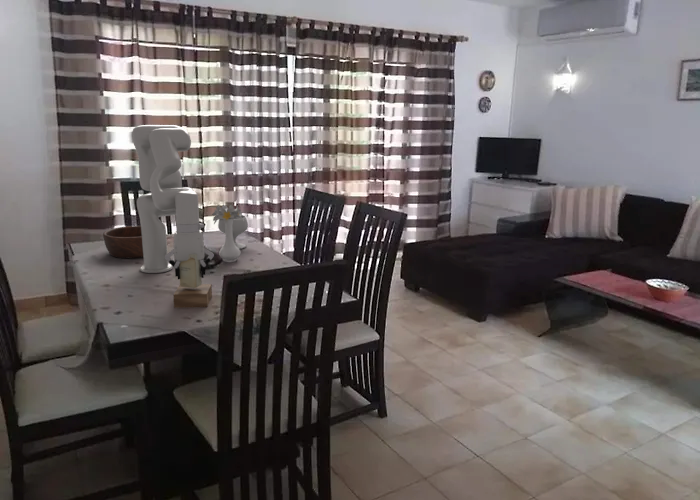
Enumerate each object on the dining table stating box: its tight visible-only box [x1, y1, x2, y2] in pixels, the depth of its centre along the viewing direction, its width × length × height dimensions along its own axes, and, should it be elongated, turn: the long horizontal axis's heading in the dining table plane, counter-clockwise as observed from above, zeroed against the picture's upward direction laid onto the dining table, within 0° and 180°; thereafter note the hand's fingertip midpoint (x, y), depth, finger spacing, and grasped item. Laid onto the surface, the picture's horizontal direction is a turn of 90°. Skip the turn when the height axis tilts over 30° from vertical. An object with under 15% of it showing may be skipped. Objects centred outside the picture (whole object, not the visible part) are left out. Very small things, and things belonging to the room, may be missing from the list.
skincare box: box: [179, 254, 202, 288], centre depth 191 cm, size 6×4×12 cm
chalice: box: [217, 214, 249, 250], centre depth 267 cm, size 14×14×15 cm
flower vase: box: [211, 204, 244, 263], centre depth 243 cm, size 13×18×25 cm
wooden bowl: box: [102, 225, 143, 259], centre depth 253 cm, size 25×25×10 cm
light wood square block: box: [172, 283, 213, 309], centre depth 193 cm, size 11×11×5 cm
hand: (190, 277), depth 192 cm, fingers closed on skincare box, 7 cm apart
